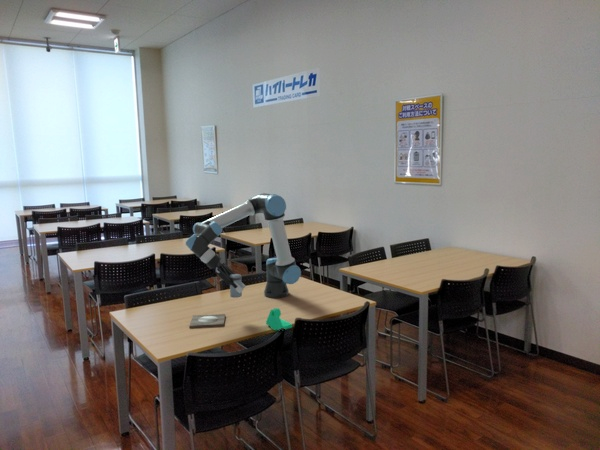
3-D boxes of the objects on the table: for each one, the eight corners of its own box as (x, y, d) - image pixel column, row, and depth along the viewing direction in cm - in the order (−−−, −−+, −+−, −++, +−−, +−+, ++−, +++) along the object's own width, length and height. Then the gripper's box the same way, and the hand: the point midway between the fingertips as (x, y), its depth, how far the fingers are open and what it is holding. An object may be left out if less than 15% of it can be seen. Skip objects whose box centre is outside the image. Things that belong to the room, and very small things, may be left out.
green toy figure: (292, 329, 227) (292, 309, 226) (280, 333, 222) (279, 312, 221) (278, 322, 236) (278, 303, 235) (266, 326, 232) (265, 306, 230)
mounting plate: (193, 317, 245) (193, 315, 245) (225, 316, 246) (225, 313, 246) (189, 328, 230) (189, 325, 230) (223, 326, 232) (223, 323, 231)
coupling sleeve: (230, 294, 243) (229, 274, 241) (242, 293, 244) (241, 273, 242) (229, 297, 237) (229, 277, 235) (241, 297, 238) (241, 276, 236)
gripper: (210, 260, 248) (241, 289, 249) (200, 268, 229) (234, 300, 231) (220, 250, 247) (250, 280, 248) (210, 258, 228) (244, 290, 230)
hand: (242, 289), depth 240 cm, fingers closed on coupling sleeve, 6 cm apart
